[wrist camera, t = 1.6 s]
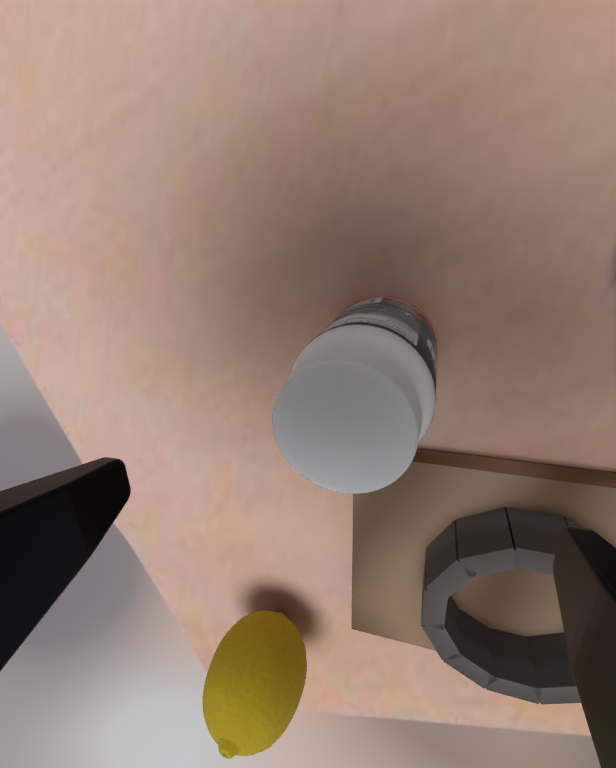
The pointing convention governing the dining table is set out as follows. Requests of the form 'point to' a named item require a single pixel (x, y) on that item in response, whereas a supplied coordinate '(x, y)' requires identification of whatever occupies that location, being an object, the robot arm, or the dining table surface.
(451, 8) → the dining table surface
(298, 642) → the lemon
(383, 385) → the pill bottle
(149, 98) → the dining table surface
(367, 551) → the socket board
